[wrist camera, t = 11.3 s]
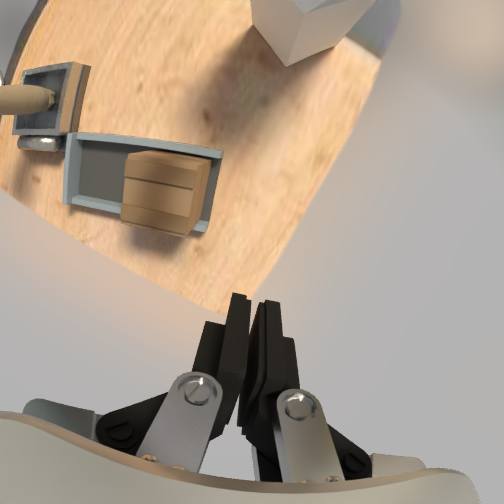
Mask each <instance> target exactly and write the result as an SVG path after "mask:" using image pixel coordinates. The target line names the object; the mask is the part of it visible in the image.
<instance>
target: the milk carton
mask: <svg viewBox="0 0 504 504" xmlns="http://www.w3.org/2000/svg"><path fill="white" fill-rule="evenodd" d="M250 1H251V11H252V22H253V25H254V26H255V28H256V29H257V30H258V31H259V33H260V34H261V35H262V36H263V38H264V39H265V40H266V42H267V43H268V44H269V46H270V47H271V48H272V49H273V51H274V52H275V54H276V55H277V56H278V58H279V59H280V60H281V62H282V63H283V64H284V66H285V67H288V66H290V65H292V64H294V63H296V62H298V61H300V60H303V59H305V58H307V57H309V56H312V55H314V54H316V53H318V52H321V51H323V50H326V49H328V48H331V47H333V46H336V45H337V44H338V43H339V42H340V41H341V39H342V38H343V37H344V36H345V35H346V34H347V33H348V31H349V30H350V29H351V28H352V27H353V26H354V25H355V23H356V22H357V21H358V20H359V19H360V18H361V17H362V16H363V15H364V14H365V12H366V11H367V10H368V9H369V8H370V7H371V6H372V5H373V4H374V3H375V2H376V1H377V0H250Z"/></svg>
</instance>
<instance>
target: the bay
mask: <svg viewBox="0 0 504 504" xmlns="http://www.w3.org/2000/svg"><path fill="white" fill-rule="evenodd" d="M149 150H160V151H167V152H173V153H179V154H185V155H191V156H196V157H202V158H207V159H212V162H211V167H210V172H209V177H208V182H207V187H206V192H205V197H204V203H203V208H202V214H201V218H200V219H199V221H198V222H197V223H196V225H195V226H194V227H193V229H192V230H195V231H200V232H204V233H205V232H206V230H207V228H208V225H209V220H210V215H211V209H212V204H213V199H214V194H215V189H216V184H217V180H218V175H219V170H220V165H221V161H222V156H223V152H224V151H222V150H217V149H212V148H207V147H201V146H196V145H190V144H184V143H178V142H171V141H164V140H157V139H150V138H142V137H133V136H124V135H114V134H102V133H89V132H74V133H68V135H67V143H66V152H65V163H64V177H63V204H64V205H68V204H71V203H72V204H77V205H81V206H86V207H91V208H95V209H100V210H105V211H109V212H114V213H119V214H120V212H121V204H122V203H123V192H124V183H125V176H124V171H125V164H126V159H128V154H130V153H136V152H143V151H149Z"/></svg>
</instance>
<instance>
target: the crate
mask: <svg viewBox="0 0 504 504" xmlns="http://www.w3.org/2000/svg"><path fill="white" fill-rule="evenodd" d="M211 162H212V159H207V158H202V157H196V156H191V155H185V154H179V153H173V152H167V151H160V150H149V151H143V152H136V153H130V154H128V159H126V164H125V171H124V176H125V183H124V192H123V203H122V204H121V212H120V220H121V223H122V224H126V225H131V226H135V227H139V228H144V229H148V230H152V231H157V232H161V233H166V234H170V235H174V236H179V237H183V238H186V237H187V236H188V234H189V233H190V231H191V230H192V229H193V227H194V226H195V225H196V223H197V222H198V221H199V219H200V218H201V214H202V208H203V203H204V197H205V192H206V187H207V182H208V177H209V172H210V167H211Z"/></svg>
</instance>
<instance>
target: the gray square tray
mask: <svg viewBox="0 0 504 504" xmlns="http://www.w3.org/2000/svg"><path fill="white" fill-rule="evenodd" d="M90 69H91V66H88V65H83V64H80V63H76V62H67V63H61V64H55V65H49V66H44V67H39V68H34V69H29V70H25V71H23V74H22V79H21V83H20V85H34V86H39V87H43V88H46V89H49V90H51V91H54V92H55V96H54V104H53V106H51V107H50V109H49V110H48V111H45V112H42V111H40V112H37V113H33V114H25V115H14V123H13V131H12V135H21V136H20V137H19V139H18V142H17V146H18V148H19V149H21V150H38V151H51V152H57V151H59V152H66V143H67V135H68V133H74V132H78V126H79V120H80V114H81V109H82V104H83V99H84V94H85V89H86V85H87V81H88V77H89V73H90Z"/></svg>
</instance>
